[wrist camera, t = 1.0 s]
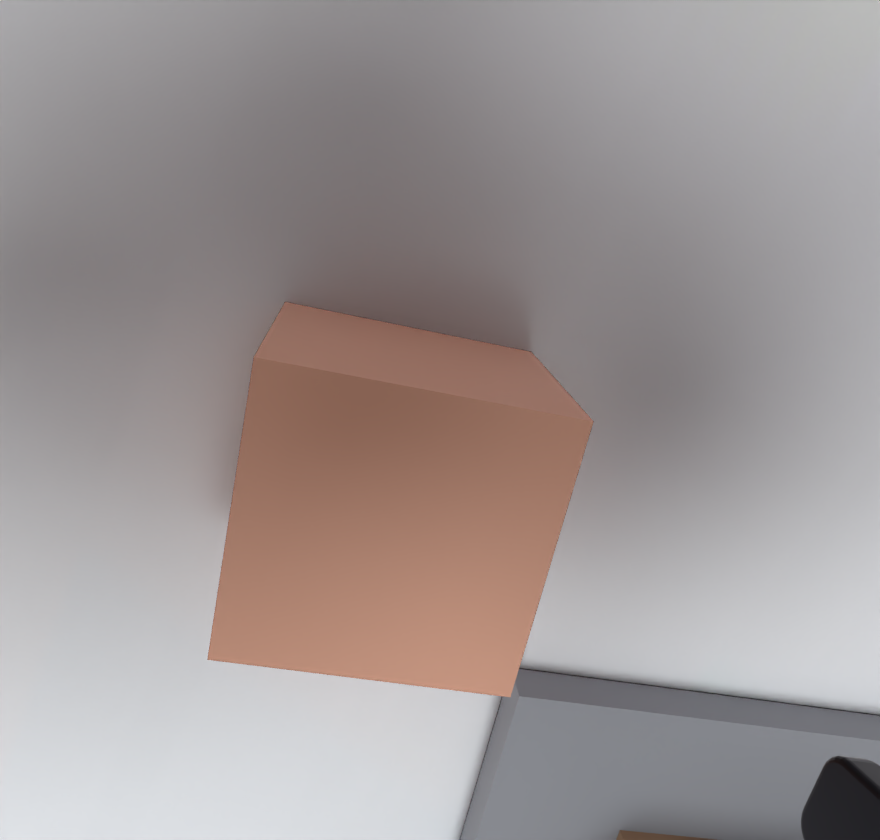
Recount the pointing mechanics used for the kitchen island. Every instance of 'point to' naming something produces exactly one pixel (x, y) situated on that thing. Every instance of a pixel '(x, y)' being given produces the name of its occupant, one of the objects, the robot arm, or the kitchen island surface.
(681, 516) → the kitchen island surface
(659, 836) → the walnut brick
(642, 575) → the kitchen island surface
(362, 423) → the terracotta block
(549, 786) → the baseplate
